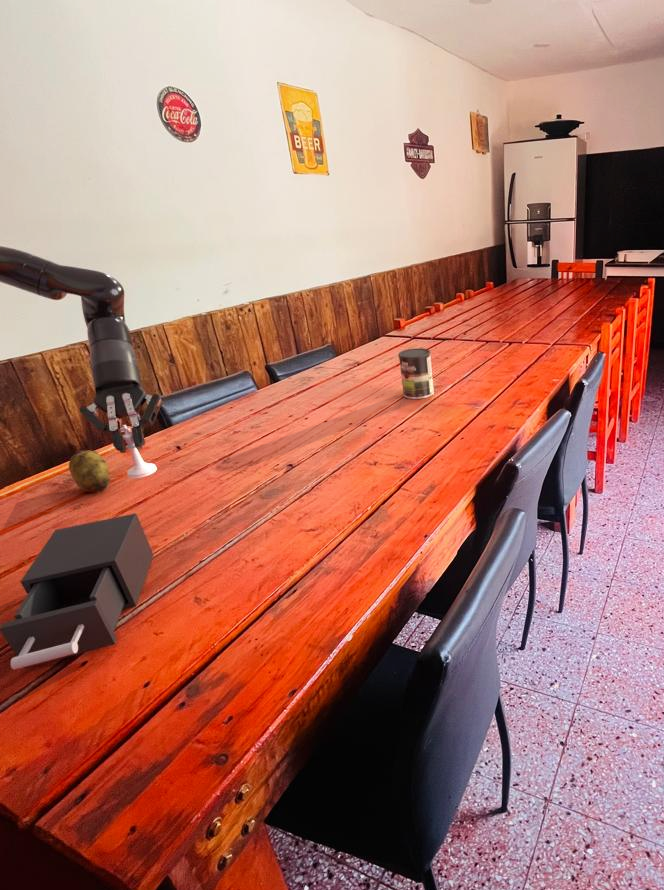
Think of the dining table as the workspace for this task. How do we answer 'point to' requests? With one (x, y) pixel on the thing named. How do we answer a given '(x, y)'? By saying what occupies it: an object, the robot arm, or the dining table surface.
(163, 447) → the dining table surface
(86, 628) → the dark grey drawer
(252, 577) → the dining table surface
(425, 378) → the coffee can
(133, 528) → the small drawer cabinet
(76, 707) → the dining table surface
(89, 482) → the potato
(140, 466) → the chess piece
